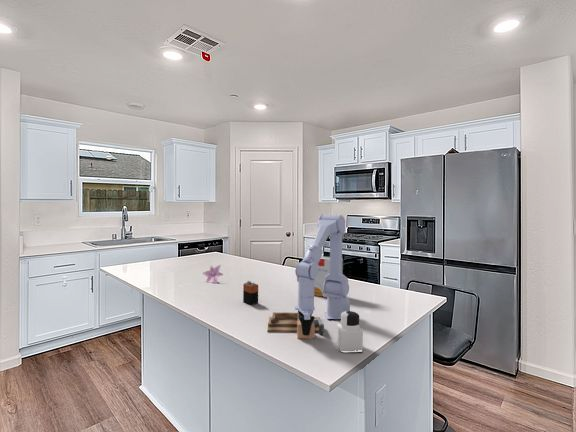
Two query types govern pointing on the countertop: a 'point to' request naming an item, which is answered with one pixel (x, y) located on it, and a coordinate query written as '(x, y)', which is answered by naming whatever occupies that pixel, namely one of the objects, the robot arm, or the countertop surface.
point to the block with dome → (300, 333)
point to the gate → (321, 326)
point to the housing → (285, 322)
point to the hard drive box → (322, 275)
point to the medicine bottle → (349, 332)
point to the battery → (250, 293)
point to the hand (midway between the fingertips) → (305, 332)
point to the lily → (213, 274)
